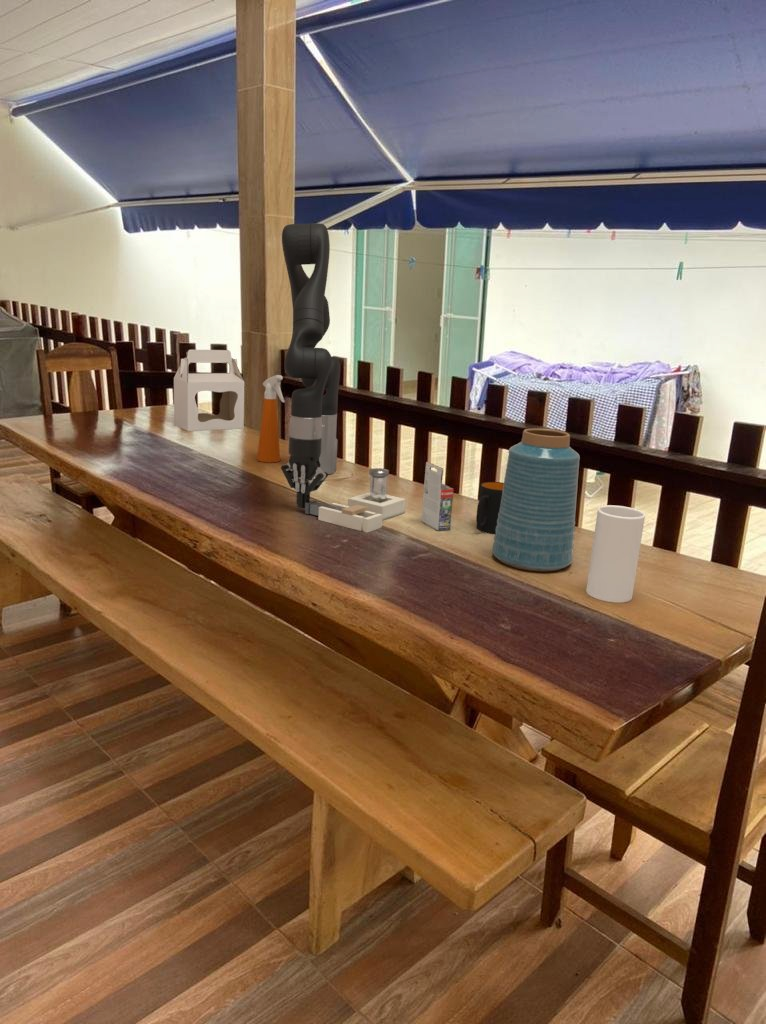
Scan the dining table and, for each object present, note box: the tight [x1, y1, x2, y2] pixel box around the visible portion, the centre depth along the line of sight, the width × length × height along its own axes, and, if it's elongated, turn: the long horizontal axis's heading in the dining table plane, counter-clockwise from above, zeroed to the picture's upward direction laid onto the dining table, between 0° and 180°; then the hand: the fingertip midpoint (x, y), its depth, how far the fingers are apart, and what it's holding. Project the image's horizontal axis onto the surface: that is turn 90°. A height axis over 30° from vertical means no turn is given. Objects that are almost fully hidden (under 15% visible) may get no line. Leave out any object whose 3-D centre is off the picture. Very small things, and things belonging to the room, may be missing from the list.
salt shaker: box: [368, 467, 390, 503], centre depth 186 cm, size 5×5×10 cm
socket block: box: [347, 491, 407, 522], centre depth 188 cm, size 10×10×4 cm
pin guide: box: [317, 502, 383, 534], centre depth 177 cm, size 6×14×4 cm, turn 56°
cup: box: [585, 504, 646, 604], centre depth 142 cm, size 8×8×16 cm
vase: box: [491, 428, 581, 573], centre depth 157 cm, size 16×16×27 cm
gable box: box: [173, 349, 245, 432], centre depth 283 cm, size 22×13×28 cm, turn 125°
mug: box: [475, 481, 504, 535], centre depth 178 cm, size 8×12×10 cm
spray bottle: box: [256, 374, 286, 464], centre depth 233 cm, size 7×11×26 cm, turn 41°
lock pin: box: [304, 499, 343, 516], centre depth 181 cm, size 3×11×3 cm, turn 56°
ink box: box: [421, 461, 454, 532], centre depth 179 cm, size 4×8×15 cm, turn 26°
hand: (302, 507), depth 185 cm, fingers closed
